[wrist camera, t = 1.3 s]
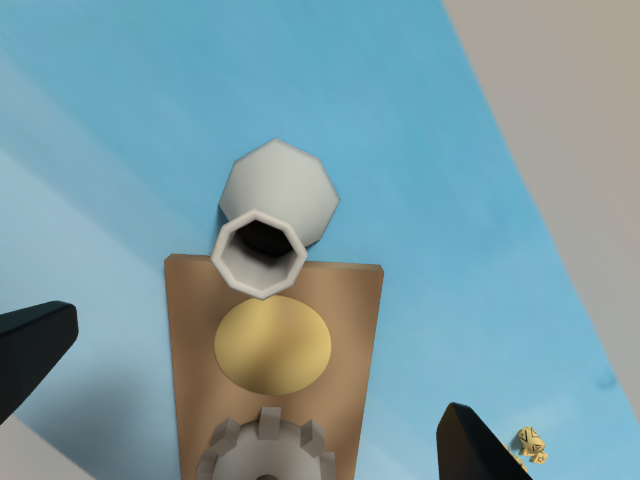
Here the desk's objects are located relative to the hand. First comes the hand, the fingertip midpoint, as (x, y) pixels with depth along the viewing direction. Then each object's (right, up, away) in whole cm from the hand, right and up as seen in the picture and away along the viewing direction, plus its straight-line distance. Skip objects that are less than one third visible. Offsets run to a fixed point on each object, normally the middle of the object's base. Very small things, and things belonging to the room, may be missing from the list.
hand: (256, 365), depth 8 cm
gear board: (-2, -8, +17) cm, 19 cm away
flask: (-1, +5, +13) cm, 14 cm away
